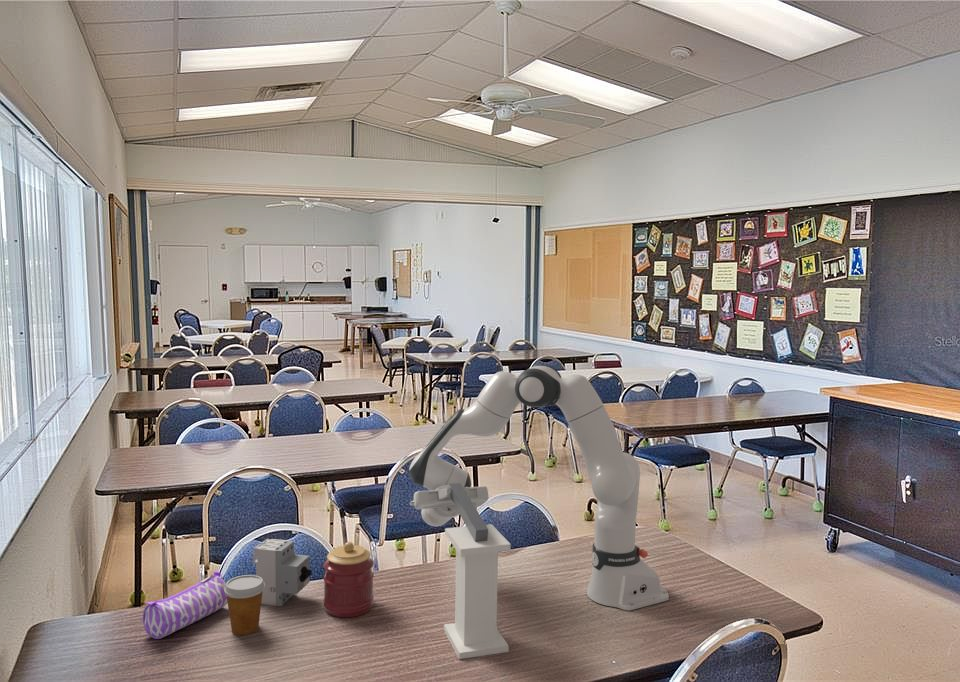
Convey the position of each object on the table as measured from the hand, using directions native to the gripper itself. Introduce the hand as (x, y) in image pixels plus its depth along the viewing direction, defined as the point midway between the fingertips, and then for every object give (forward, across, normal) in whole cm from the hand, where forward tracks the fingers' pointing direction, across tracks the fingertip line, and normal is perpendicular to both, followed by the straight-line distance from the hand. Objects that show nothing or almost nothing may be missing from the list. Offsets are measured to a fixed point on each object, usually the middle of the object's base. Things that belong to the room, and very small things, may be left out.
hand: (457, 490), depth 185 cm
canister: (-24, -27, +24) cm, 43 cm away
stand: (-1, 0, +36) cm, 36 cm away
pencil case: (-26, -66, +22) cm, 75 cm away
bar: (+6, 0, +8) cm, 10 cm away
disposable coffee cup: (-20, -53, +26) cm, 62 cm away
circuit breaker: (-32, -43, +19) cm, 57 cm away
